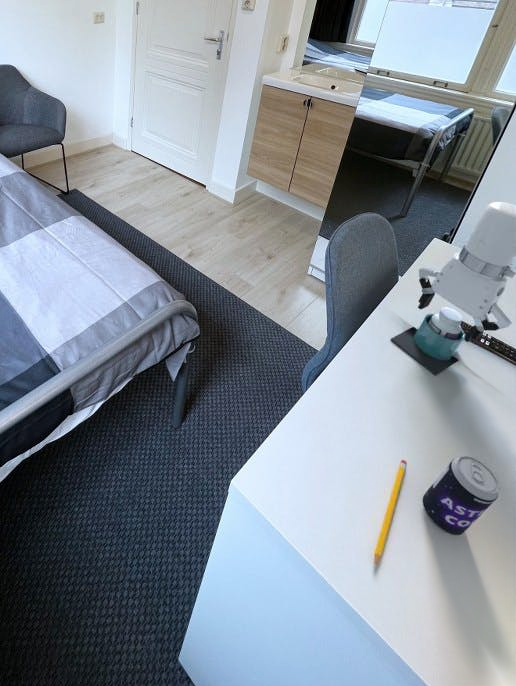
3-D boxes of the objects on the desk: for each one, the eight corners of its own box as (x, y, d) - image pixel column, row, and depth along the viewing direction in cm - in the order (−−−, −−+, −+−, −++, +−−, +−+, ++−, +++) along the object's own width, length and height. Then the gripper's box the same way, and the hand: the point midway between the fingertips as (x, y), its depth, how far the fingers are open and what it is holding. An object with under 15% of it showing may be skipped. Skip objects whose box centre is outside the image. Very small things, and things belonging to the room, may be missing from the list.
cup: (459, 353, 94) (472, 334, 91) (440, 365, 90) (453, 346, 87) (425, 328, 99) (436, 309, 97) (406, 338, 96) (417, 319, 93)
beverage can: (419, 520, 65) (455, 478, 59) (420, 486, 69) (453, 444, 63) (464, 547, 62) (505, 506, 56) (461, 510, 66) (500, 469, 61)
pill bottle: (447, 343, 95) (467, 312, 91) (447, 359, 91) (468, 328, 87) (419, 331, 98) (437, 301, 93) (419, 346, 94) (437, 315, 89)
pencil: (405, 464, 72) (407, 462, 71) (376, 570, 59) (378, 568, 58) (400, 461, 72) (402, 458, 72) (370, 565, 59) (372, 563, 59)
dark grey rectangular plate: (470, 353, 94) (470, 351, 94) (435, 375, 88) (436, 374, 88) (425, 320, 102) (425, 319, 102) (390, 339, 96) (390, 338, 96)
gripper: (544, 284, 79) (498, 347, 87) (447, 232, 92) (415, 291, 100) (526, 295, 75) (480, 359, 83) (428, 240, 89) (396, 300, 97)
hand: (445, 322), depth 92 cm, fingers open, 9 cm apart
